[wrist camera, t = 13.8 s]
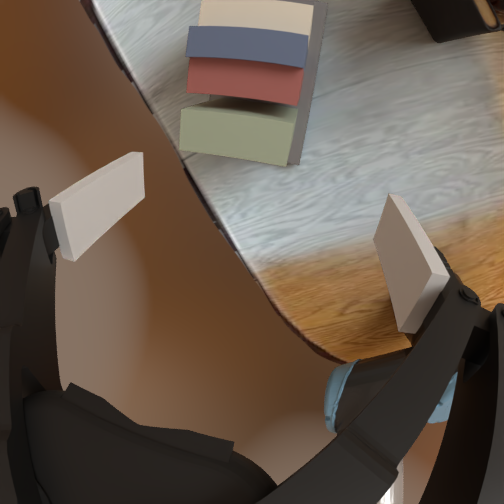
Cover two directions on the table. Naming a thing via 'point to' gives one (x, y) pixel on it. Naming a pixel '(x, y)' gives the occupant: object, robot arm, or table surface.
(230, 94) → the book shelf
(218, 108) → the loose book
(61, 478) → the robot arm
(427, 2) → the bookend
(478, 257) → the table surface
